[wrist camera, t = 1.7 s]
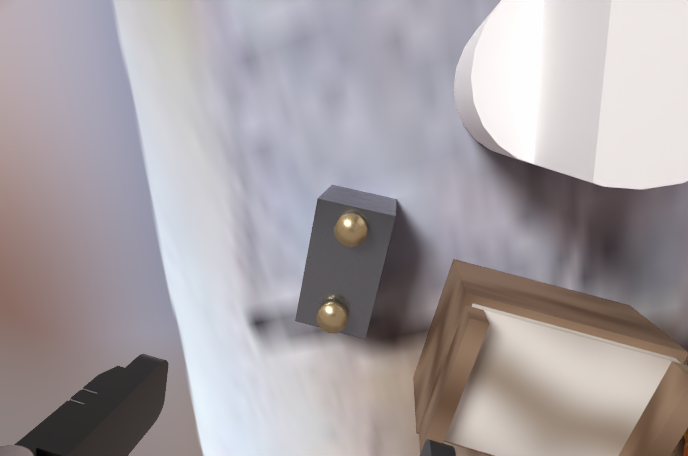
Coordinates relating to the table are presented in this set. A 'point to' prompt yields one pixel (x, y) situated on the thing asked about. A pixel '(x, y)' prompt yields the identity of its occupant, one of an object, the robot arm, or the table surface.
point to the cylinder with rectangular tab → (582, 88)
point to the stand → (546, 372)
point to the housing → (345, 260)
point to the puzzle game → (686, 443)
